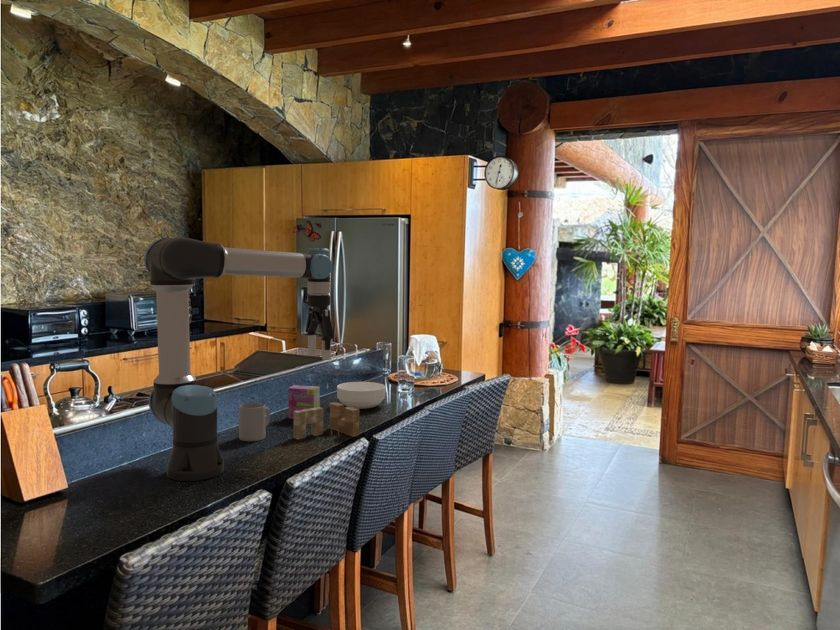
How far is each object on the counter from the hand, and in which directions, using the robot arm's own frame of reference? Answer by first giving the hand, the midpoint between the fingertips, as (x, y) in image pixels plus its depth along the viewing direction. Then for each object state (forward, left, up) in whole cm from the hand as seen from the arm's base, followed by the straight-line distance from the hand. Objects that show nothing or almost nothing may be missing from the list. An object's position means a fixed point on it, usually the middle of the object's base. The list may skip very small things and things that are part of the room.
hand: (319, 356), depth 218 cm
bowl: (+35, +23, -27) cm, 50 cm away
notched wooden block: (+8, -4, -26) cm, 28 cm away
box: (+7, +21, -27) cm, 35 cm away
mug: (-19, +9, -27) cm, 34 cm away
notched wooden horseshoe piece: (-5, -1, -26) cm, 27 cm away
